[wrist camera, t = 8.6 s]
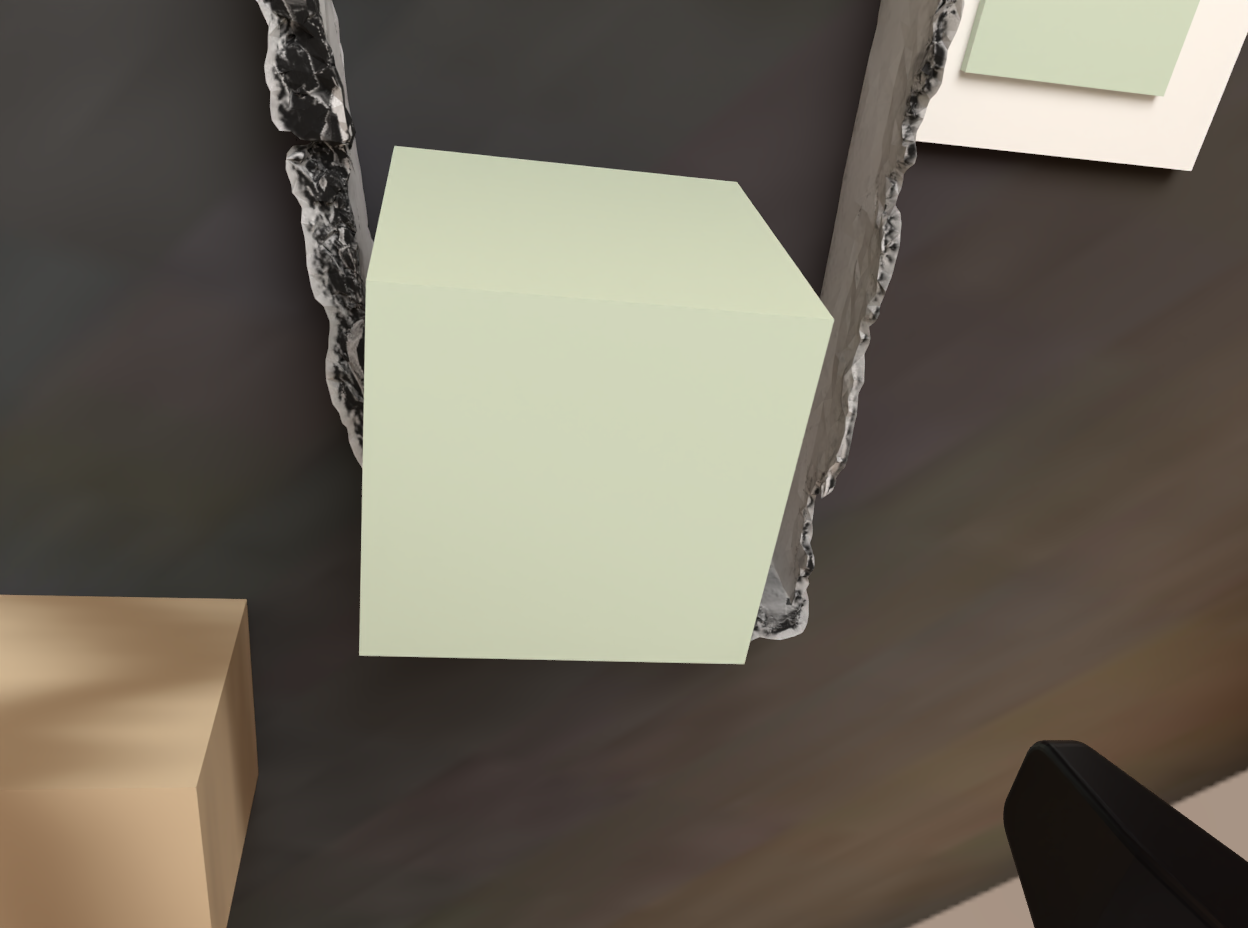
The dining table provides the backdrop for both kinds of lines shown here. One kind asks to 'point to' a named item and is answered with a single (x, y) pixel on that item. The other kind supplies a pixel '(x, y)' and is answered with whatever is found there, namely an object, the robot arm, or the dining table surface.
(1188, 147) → the card
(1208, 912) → the robot arm
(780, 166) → the dining table surface
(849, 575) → the dining table surface
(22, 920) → the honey block
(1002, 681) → the dining table surface
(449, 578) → the sage block
